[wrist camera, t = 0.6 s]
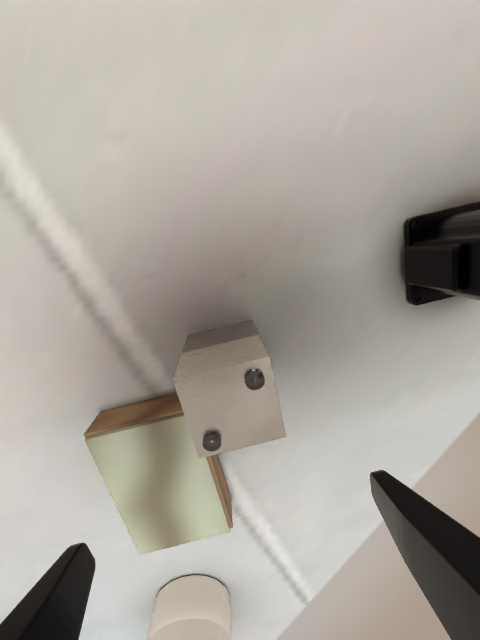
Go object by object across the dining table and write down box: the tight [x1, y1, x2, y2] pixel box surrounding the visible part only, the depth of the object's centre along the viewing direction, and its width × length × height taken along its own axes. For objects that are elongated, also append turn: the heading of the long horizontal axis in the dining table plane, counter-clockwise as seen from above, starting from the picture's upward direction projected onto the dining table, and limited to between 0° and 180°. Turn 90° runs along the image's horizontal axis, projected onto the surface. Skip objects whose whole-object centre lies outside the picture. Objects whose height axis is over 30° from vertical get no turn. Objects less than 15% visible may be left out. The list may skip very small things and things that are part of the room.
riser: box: [84, 393, 233, 555], centre depth 21 cm, size 8×12×3 cm, turn 13°
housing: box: [173, 320, 286, 459], centre depth 17 cm, size 5×5×7 cm
